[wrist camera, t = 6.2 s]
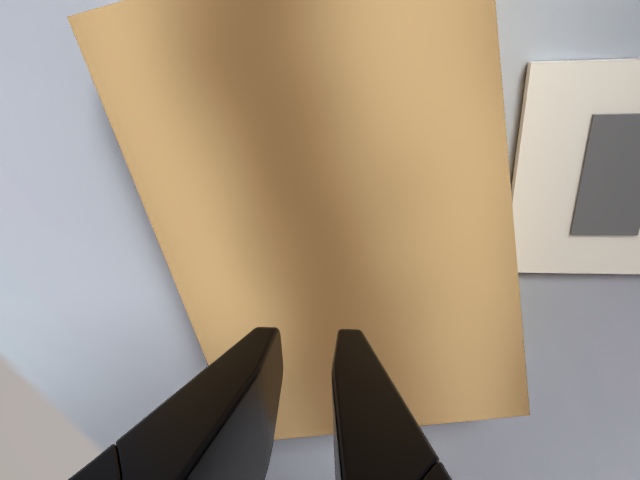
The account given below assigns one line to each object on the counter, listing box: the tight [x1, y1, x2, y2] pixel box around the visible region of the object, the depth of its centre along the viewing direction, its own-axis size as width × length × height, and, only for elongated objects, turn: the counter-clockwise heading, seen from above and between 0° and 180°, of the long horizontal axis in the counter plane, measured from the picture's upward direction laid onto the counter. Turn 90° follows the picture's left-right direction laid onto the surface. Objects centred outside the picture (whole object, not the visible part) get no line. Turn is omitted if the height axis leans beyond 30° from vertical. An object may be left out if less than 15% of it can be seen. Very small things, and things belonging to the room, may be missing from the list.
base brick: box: [67, 0, 530, 440], centre depth 14 cm, size 9×13×3 cm
